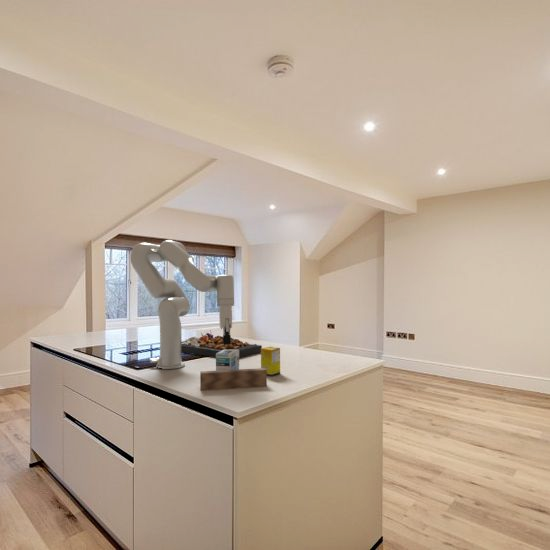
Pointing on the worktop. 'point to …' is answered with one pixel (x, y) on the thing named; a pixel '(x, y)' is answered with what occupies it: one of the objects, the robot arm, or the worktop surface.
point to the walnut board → (233, 378)
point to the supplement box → (271, 360)
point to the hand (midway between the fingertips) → (227, 344)
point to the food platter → (217, 346)
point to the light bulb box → (227, 360)
